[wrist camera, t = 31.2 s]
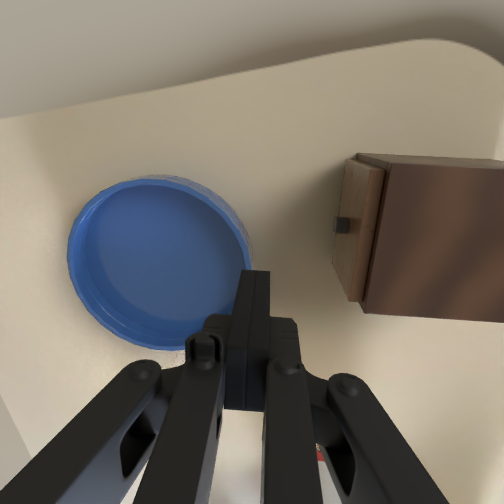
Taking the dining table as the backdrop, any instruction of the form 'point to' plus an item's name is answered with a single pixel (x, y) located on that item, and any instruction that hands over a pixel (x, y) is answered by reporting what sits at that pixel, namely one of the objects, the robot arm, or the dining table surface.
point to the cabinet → (438, 239)
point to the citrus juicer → (327, 483)
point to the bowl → (157, 259)
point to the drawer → (357, 225)
